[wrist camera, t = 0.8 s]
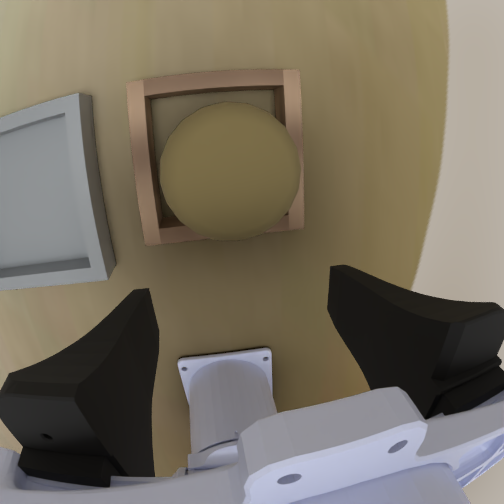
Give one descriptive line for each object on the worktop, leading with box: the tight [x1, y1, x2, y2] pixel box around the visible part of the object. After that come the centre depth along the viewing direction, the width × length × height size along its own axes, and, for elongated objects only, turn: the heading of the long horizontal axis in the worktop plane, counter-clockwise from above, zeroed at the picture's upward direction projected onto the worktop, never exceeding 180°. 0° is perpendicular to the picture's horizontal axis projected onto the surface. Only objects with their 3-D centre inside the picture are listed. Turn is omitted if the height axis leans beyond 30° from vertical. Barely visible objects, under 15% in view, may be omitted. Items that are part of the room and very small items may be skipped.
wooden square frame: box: [126, 69, 304, 246], centre depth 19 cm, size 10×10×2 cm
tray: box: [0, 93, 116, 291], centre depth 18 cm, size 12×12×2 cm
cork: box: [160, 102, 301, 241], centre depth 15 cm, size 6×6×11 cm
